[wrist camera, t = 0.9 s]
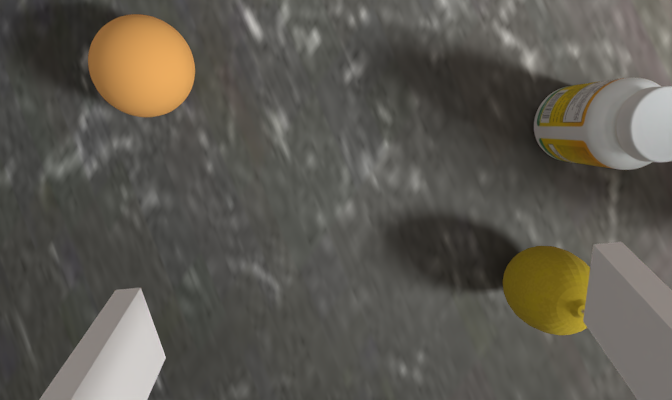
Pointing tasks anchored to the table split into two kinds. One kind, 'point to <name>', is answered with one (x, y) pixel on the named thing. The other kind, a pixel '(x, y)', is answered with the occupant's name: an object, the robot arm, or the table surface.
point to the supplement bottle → (607, 123)
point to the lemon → (548, 289)
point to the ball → (141, 65)
